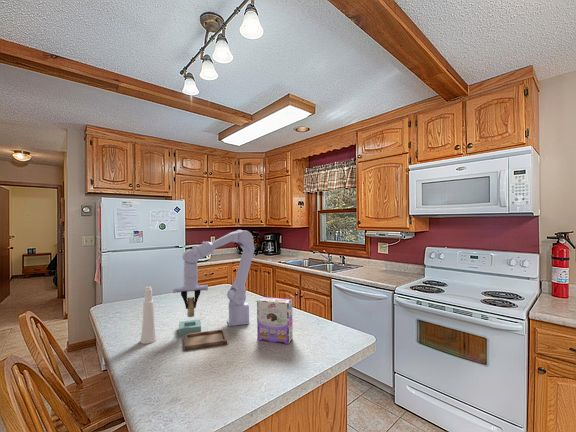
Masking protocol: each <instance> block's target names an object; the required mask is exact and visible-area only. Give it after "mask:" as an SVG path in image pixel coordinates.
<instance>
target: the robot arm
mask: <svg viewBox="0 0 576 432" xmlns="http://www.w3.org/2000/svg"><path fill="white" fill-rule="evenodd" d="M229 243H237V245H239V246H240V247H241V249H242V252H241V257H240V259H239V260H240V261H239V264H238V268H237V271H236V275H235V279H234V281H233V283H232V284H231V286H230V289H228V291H227V294H226V296H227V299H228V301H229V302H228V319H226V321H227V324H228V327H233V326H241V325H249V324H250V305H249V303H248V302H246V301H247V300H246V299H247V296H246V295H247V294H246V292H247V288H246V282H247V280H248V275H249V271H250V269H251V268H250V267H251V264H252V261H253V259H254V253H255V245H254V236H253V235H252V233H251V232H250V231H249V230H242V229H237V230H235V231H232V232H228V233H227V234H225V235H223V236H221V237H219V238H218V239H215V240H214V241H212V242H211V241H205V240H204V241H202V242H201V244H199V245H196V246H192V249H191V248H190V249H186V250H185V251H184V252H183V254H182V260H183V262H184V263H183V265H184V266H183V286H178V287H177V286H176V287H173V288H172V293H173V294H176V293H180V295H181V297H182V299H183V302H184V305H185V306H184V307H185V309H186V310H187V309H188V305H187V298H188V293H190V292H194V309H196V307H197V303H198V300H199V297H200V295H201V291H209V285H208V284H203V285H202V284H201V285H200V284H198V283H199V282H198V280H199V278H198V267H199V266H198V261H199V259H201V260H202V259H203V258H205V257H207V256H209V255H211V254H213V253H214V251H215V249H218V248H220V247H222V246H225V245H226V244H227V245H228V244H229Z"/></svg>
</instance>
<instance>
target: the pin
mask: <svg viewBox="0 0 576 432" xmlns="http://www.w3.org/2000/svg"><path fill="white" fill-rule="evenodd" d="M194 300H195V296H187V305H188V309H186V311H187V318H194V317H195V308H194Z"/></svg>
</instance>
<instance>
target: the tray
mask: <svg viewBox="0 0 576 432" xmlns="http://www.w3.org/2000/svg"><path fill="white" fill-rule="evenodd" d="M228 340H229V339H228V338H227V334H226V331H225V328H220V329H213V330H207V331H206V330H205V331H201V332H196V333H189V334H185V336H184V351H191V350H197V349H199V350H200V349H205V348H211V347H216V346H217V347H218V346H224V345H229V344H228Z"/></svg>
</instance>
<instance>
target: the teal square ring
mask: <svg viewBox="0 0 576 432" xmlns="http://www.w3.org/2000/svg"><path fill="white" fill-rule="evenodd" d="M196 332H202V325H201V318H200V319H191V320H190V319H189V320H184V321H179V324H178V337H183V336H184V337H185V334H189V333H196Z"/></svg>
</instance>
